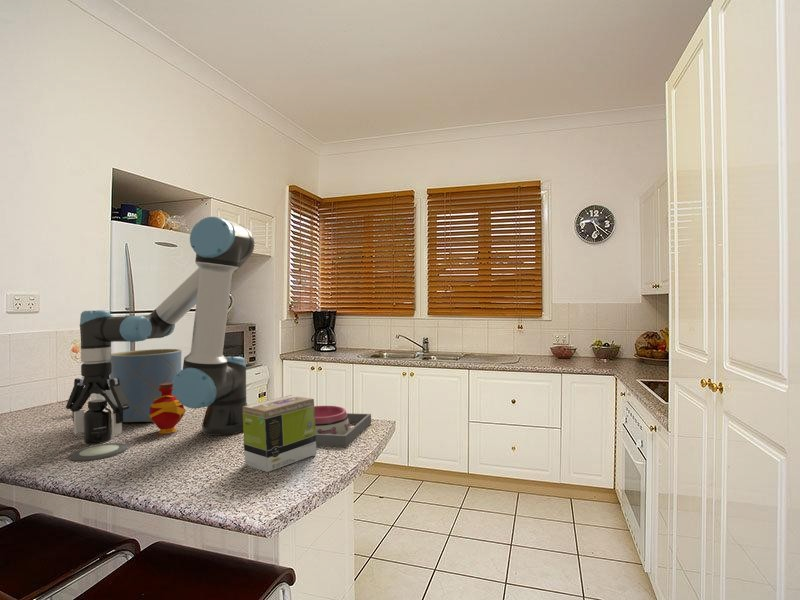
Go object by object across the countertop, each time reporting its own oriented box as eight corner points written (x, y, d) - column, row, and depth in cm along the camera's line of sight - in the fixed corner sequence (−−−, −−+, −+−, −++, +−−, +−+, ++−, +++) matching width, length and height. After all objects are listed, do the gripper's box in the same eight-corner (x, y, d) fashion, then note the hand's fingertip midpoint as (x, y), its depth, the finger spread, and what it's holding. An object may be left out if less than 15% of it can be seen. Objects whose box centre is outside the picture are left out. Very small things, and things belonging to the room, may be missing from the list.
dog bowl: (363, 429, 138) (363, 407, 138) (321, 446, 123) (320, 421, 123) (320, 422, 149) (320, 401, 149) (276, 436, 133) (276, 413, 133)
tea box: (293, 448, 121) (291, 393, 122) (317, 455, 115) (315, 398, 115) (243, 464, 110) (241, 404, 110) (266, 473, 103) (265, 409, 104)
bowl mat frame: (371, 423, 145) (370, 413, 145) (346, 446, 121) (345, 435, 121) (302, 420, 150) (301, 411, 150) (265, 443, 127) (265, 432, 127)
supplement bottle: (97, 445, 129) (96, 403, 129) (78, 444, 130) (77, 403, 130) (117, 438, 136) (116, 398, 136) (98, 437, 137) (97, 398, 137)
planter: (136, 410, 173) (135, 349, 173) (194, 409, 172) (193, 348, 172) (94, 426, 150) (92, 356, 150) (160, 425, 149) (158, 355, 149)
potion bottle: (144, 437, 135) (143, 388, 135) (153, 428, 145) (152, 382, 145) (182, 434, 138) (181, 385, 138) (188, 425, 148) (187, 380, 148)
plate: (138, 446, 127) (138, 443, 127) (98, 462, 114) (98, 459, 114) (100, 444, 130) (100, 441, 130) (57, 459, 117) (57, 457, 117)
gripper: (141, 360, 134) (143, 431, 134) (73, 360, 140) (75, 428, 139) (121, 363, 127) (122, 438, 127) (50, 363, 132) (51, 435, 132)
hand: (97, 433), depth 133 cm, fingers open, 13 cm apart
